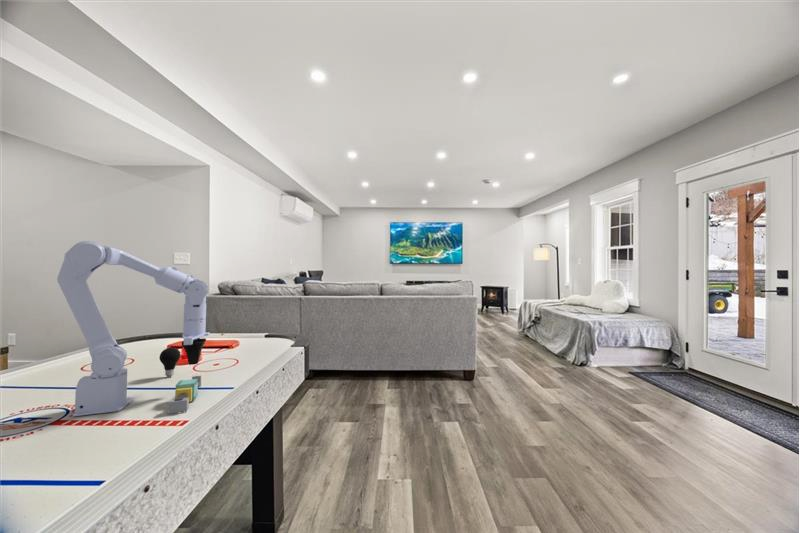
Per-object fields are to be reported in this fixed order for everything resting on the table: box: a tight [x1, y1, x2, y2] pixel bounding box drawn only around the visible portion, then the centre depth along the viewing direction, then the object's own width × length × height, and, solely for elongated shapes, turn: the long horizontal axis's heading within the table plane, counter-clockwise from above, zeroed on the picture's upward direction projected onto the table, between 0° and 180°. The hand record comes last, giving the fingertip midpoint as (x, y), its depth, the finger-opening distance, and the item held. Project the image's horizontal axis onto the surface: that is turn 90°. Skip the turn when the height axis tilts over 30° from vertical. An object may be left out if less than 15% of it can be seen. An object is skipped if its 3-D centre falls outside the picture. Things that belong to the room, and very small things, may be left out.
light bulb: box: [159, 347, 181, 378], centre depth 108 cm, size 6×6×10 cm
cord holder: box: [167, 374, 203, 415], centre depth 90 cm, size 21×4×4 cm, turn 21°
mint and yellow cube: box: [174, 378, 199, 402], centre depth 88 cm, size 4×4×5 cm
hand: (193, 363), depth 95 cm, fingers closed
